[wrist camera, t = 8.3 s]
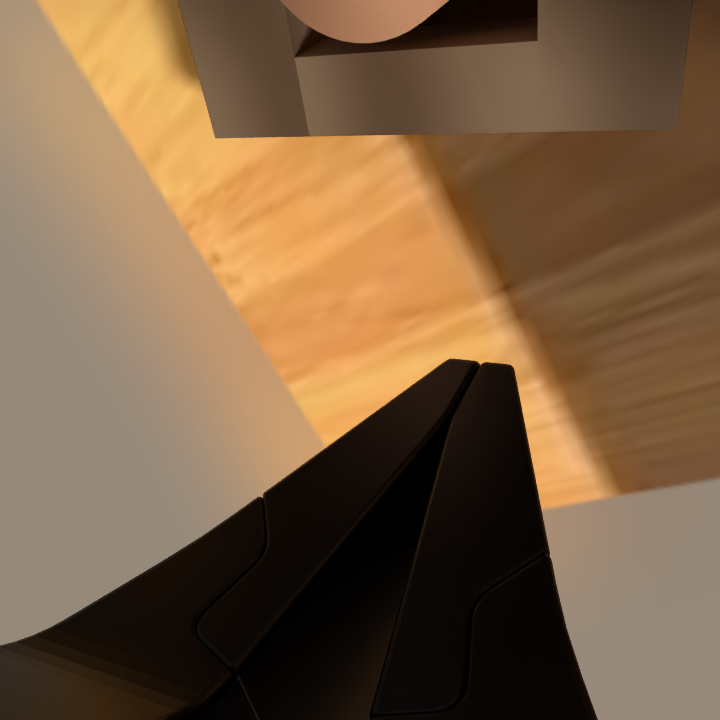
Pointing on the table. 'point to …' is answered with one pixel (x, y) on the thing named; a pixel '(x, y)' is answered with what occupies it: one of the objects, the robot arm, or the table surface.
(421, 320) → the table surface
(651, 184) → the table surface
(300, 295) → the table surface
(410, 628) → the robot arm
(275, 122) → the wooden compartment tray
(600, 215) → the table surface
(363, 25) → the button rust
